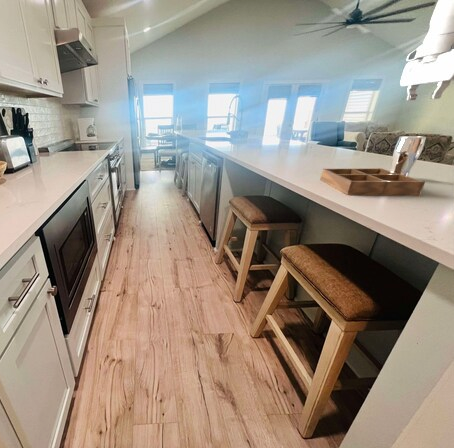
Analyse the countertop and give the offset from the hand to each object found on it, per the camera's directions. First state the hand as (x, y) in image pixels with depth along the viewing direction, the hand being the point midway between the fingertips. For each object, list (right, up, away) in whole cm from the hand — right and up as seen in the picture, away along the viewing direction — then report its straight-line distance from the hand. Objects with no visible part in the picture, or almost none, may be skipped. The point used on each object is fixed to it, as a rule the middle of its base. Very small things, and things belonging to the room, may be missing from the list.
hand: (422, 99), depth 78 cm
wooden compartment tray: (-15, -28, +5) cm, 32 cm away
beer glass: (+2, -24, +11) cm, 27 cm away
